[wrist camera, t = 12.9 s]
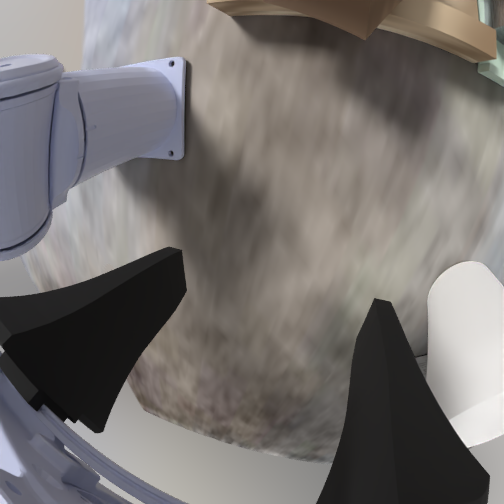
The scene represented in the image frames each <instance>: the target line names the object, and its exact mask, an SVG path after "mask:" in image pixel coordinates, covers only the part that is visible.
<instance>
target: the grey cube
mask: <svg viewBox="0 0 504 504" xmlns="http://www.w3.org/2000/svg"><path fill="white" fill-rule="evenodd" d="M484 14H485V24H486V25H488V26H490V27H491V28H493V29H495V30H496V40H497V41H499V42H500V43H502V44H503V45H504V0H484Z"/></svg>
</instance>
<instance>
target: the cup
mask: <svg viewBox="0 0 504 504" xmlns="http://www.w3.org/2000/svg"><path fill="white" fill-rule="evenodd" d="M427 307H428V359H427V376H426V382H427V384H428V386H429V387H430V389H431V391H432V393H433V395H434V396H435V398H436V400H437V402H438V404H439V406H440V407H441V409H442V411H443V412H444V414H445V415H446V417H447V419H448V420H449V422H450V423H451V425H452V427H453V428H454V430H455V431H456V433H457V434H458V436H459V437H460V439H461V440H462V441H463V443H464V444H465V445H466V447H467V448H468V447H472V446H475V445H478V444H482V443H485V442H487V441H490V440H492V439H494V438H497V437H499V436H501V435H503V434H504V287H503V286H502V284H501V283H500V282H499V281H498V279H497V278H496V277H495V276H494V275H493V273H492V272H491V271H490V270H489V269H488V268H487V267H486V266H485V265H484V264H482V263H480V262H475V261H467V262H462V263H459V264H456V265H454V266H452V267H450V268H449V269H447V270H446V271H445V272H443V273H442V274H441V275H440V276H439V277H438V278H437V280H436V281H435V282H434V284H433V285H432V287H431V289H430V291H429V294H428V299H427Z"/></svg>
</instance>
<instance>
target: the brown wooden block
mask: <svg viewBox="0 0 504 504" xmlns="http://www.w3.org/2000/svg"><path fill="white" fill-rule="evenodd" d="M263 1H264V2H265V3H269V4H273V5H276V6H280V7H283V8H287V9H290V10H293V11H296V12H299V13H302V14H305V15H308V16H310V17H313V18H316V19H318V20H321V21H324V22H326V23H329V24H331V25H333V26H336V27H338V28H340V29H342V30H345V31H347V32H349V33H351V34H353V35H355V36H357V37H359V38H361V39H363V40H366V39H367V38H368V37H369V36H370V35H371V33H372V32H373V31H374V30H375V29H376V28H377V27H378V26H379V25H380V23H381V22H382V21H383V20H384V19H385V18H386V17H387V16H388V15H389V14H390V13H391V11H392V10H393V9H394V8H395V7H396V6H397V5H398V4H399V3H400V2H401V1H402V0H263Z"/></svg>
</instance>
